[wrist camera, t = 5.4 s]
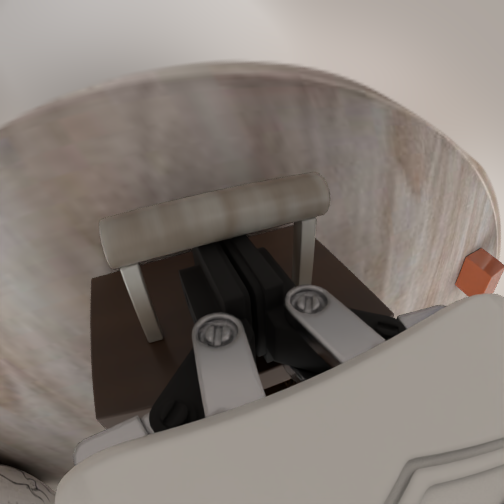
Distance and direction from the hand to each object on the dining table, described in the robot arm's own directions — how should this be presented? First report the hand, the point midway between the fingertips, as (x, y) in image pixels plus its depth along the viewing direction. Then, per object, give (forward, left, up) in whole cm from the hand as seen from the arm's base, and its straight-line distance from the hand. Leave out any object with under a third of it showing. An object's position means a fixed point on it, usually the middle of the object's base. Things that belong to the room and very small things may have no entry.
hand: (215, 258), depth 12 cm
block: (+15, +33, -5) cm, 37 cm away
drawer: (+6, 0, -4) cm, 7 cm away
